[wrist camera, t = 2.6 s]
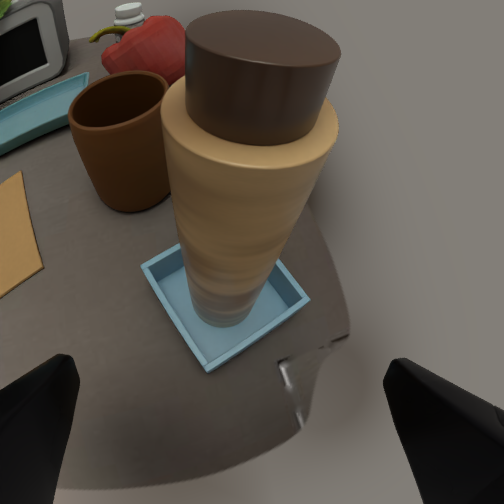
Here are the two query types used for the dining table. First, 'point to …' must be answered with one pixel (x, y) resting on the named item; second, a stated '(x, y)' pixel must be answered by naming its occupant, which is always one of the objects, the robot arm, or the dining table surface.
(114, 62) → the vegetable
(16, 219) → the mat
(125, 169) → the mug
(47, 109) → the shallow long dish
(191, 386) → the dining table surface
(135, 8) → the pill bottle
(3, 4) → the moss
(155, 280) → the tub
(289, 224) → the pepper mill
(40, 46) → the alarm clock
